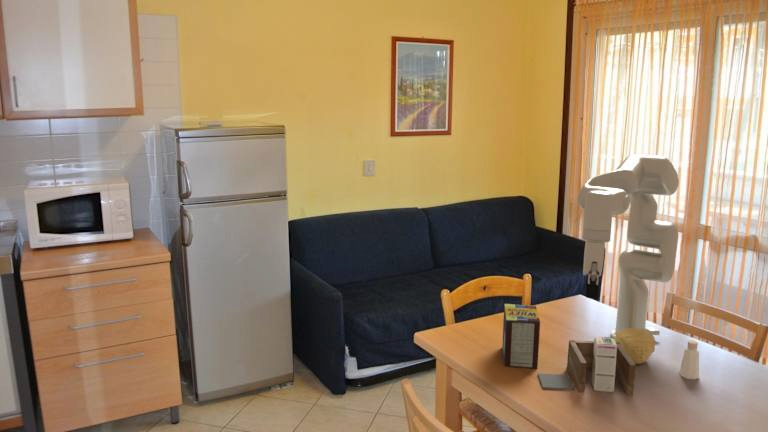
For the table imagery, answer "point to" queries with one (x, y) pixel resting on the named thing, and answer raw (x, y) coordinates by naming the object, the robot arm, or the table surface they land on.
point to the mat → (556, 381)
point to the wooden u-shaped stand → (583, 360)
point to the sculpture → (636, 344)
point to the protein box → (521, 336)
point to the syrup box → (604, 364)
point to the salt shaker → (690, 361)
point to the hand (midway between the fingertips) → (591, 292)
